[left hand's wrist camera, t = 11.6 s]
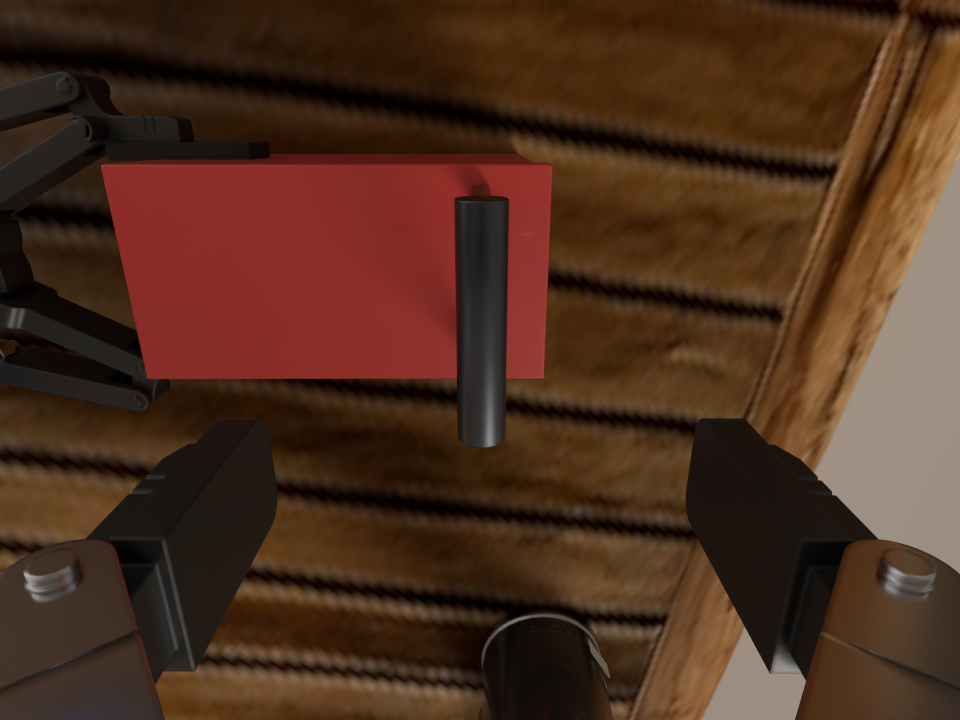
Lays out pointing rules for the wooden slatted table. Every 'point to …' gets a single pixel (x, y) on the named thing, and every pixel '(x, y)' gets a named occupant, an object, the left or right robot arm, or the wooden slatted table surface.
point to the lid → (340, 273)
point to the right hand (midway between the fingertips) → (272, 253)
